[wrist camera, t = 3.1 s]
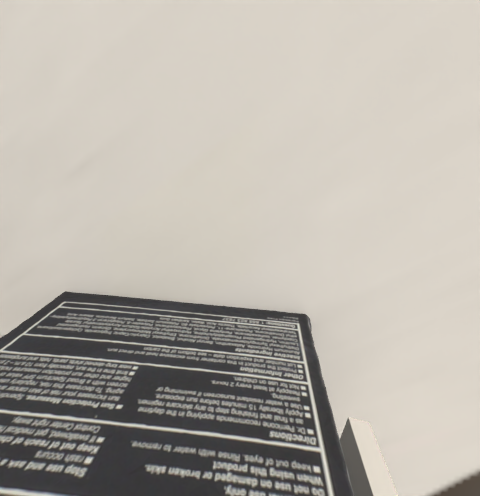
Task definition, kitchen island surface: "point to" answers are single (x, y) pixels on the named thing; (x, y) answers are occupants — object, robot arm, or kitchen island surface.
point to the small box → (165, 402)
